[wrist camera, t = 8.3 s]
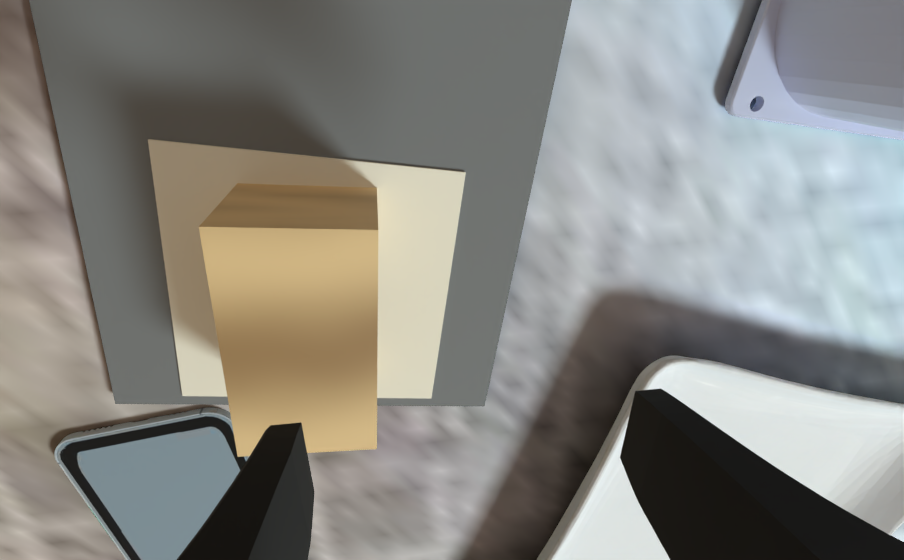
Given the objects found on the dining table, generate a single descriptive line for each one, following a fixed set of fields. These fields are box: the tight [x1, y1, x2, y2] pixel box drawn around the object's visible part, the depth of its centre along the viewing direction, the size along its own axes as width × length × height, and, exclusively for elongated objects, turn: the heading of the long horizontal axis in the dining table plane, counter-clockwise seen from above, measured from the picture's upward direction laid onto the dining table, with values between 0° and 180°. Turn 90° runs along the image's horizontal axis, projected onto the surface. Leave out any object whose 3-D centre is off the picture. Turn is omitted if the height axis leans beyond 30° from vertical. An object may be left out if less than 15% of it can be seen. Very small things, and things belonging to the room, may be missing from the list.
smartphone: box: [54, 407, 249, 560], centre depth 23 cm, size 7×1×15 cm
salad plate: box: [537, 356, 904, 560], centre depth 27 cm, size 21×21×3 cm
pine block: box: [199, 183, 378, 457], centre depth 16 cm, size 8×4×4 cm, turn 175°
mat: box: [29, 0, 572, 406], centre depth 16 cm, size 15×20×1 cm
